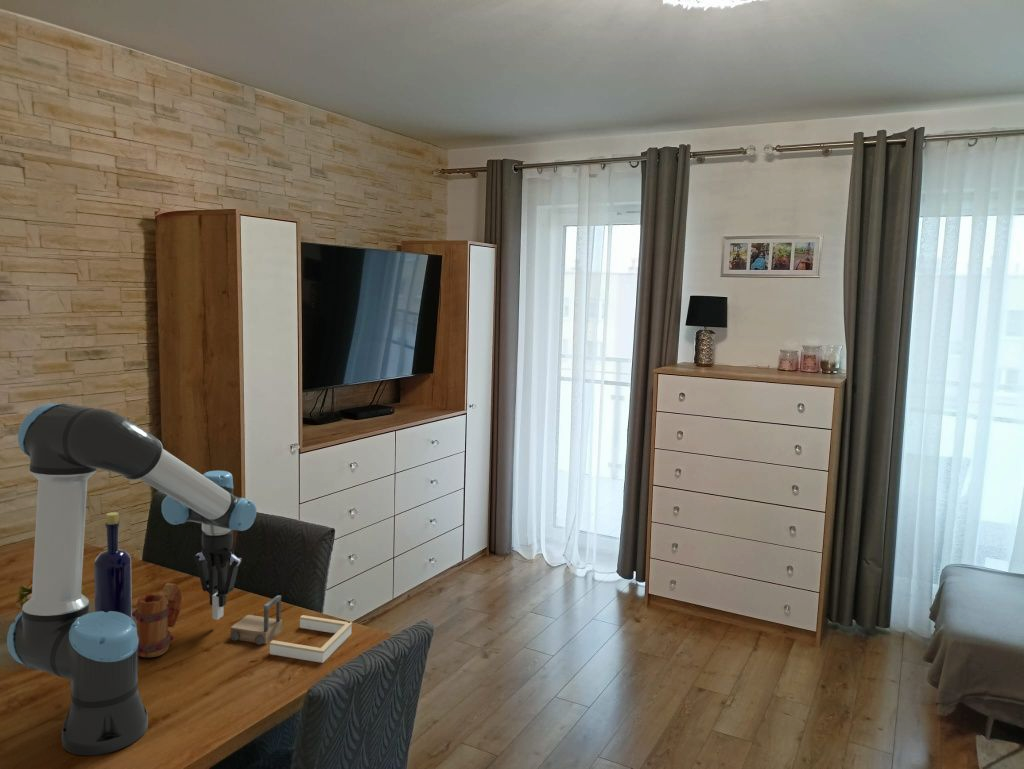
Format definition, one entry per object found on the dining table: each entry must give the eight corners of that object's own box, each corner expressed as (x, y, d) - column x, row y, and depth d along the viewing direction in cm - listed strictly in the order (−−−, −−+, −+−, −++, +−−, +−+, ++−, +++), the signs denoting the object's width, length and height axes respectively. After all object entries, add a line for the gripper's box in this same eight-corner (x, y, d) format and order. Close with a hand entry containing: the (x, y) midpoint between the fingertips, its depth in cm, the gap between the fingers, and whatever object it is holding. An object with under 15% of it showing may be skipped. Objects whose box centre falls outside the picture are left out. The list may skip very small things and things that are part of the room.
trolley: (264, 646, 188) (264, 608, 187) (228, 640, 190) (228, 602, 189) (283, 630, 197) (284, 593, 196) (249, 624, 199) (250, 588, 198)
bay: (323, 663, 181) (323, 651, 181) (269, 654, 184) (269, 642, 184) (351, 633, 197) (352, 622, 197) (302, 625, 200) (302, 615, 200)
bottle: (139, 626, 195) (138, 514, 191) (101, 636, 188) (99, 521, 184) (125, 614, 201) (124, 506, 197) (88, 624, 194) (86, 512, 191)
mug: (154, 665, 176) (154, 604, 174) (124, 660, 177) (123, 599, 176) (192, 637, 190) (192, 581, 188) (164, 633, 192) (164, 577, 190)
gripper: (248, 529, 195) (248, 614, 198) (204, 523, 198) (204, 607, 201) (231, 538, 188) (232, 627, 191) (186, 532, 191) (186, 619, 194)
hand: (218, 617), depth 196 cm, fingers closed
